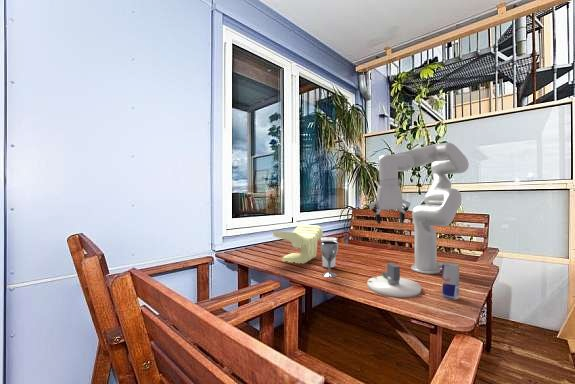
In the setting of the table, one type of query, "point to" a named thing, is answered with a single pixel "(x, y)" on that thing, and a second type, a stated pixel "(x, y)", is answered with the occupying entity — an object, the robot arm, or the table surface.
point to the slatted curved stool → (302, 242)
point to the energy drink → (450, 281)
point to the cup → (323, 256)
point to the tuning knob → (392, 273)
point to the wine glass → (329, 254)
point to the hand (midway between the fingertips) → (390, 222)
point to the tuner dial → (394, 287)
